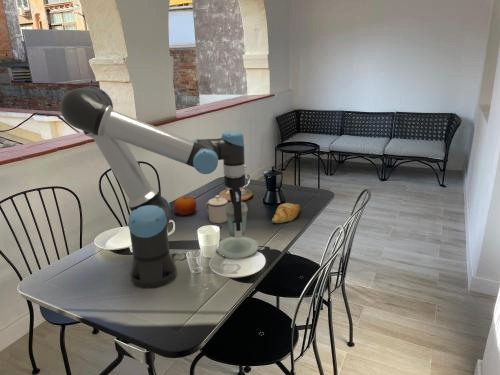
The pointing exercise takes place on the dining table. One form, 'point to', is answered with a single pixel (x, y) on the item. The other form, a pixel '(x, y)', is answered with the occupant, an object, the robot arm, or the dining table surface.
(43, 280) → the dining table surface
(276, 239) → the dining table surface
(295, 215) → the croissant
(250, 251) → the saucer
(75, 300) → the dining table surface
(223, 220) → the teacup with lid
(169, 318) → the dining table surface
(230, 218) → the coffee cup
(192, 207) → the fruit
